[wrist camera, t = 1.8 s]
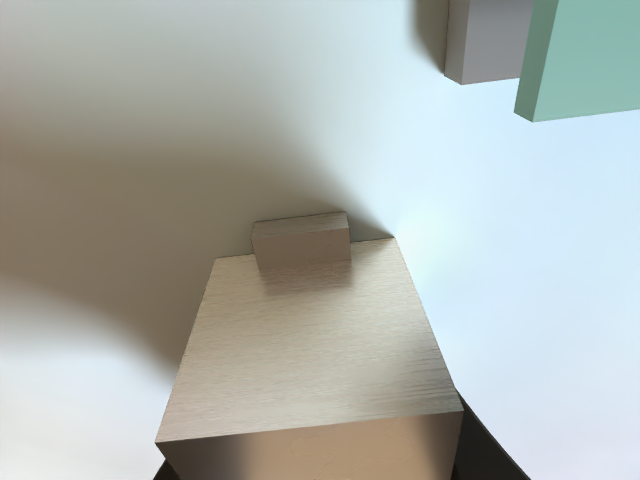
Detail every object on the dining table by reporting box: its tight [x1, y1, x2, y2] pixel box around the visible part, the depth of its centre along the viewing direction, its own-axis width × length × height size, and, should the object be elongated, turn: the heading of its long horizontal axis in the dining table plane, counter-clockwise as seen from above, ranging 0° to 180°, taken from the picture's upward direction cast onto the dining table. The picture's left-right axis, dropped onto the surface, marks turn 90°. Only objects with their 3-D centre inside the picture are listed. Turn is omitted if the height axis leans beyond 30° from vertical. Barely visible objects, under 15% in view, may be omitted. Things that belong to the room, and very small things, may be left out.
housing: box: [154, 212, 464, 480], centre depth 10 cm, size 5×10×5 cm, turn 6°
